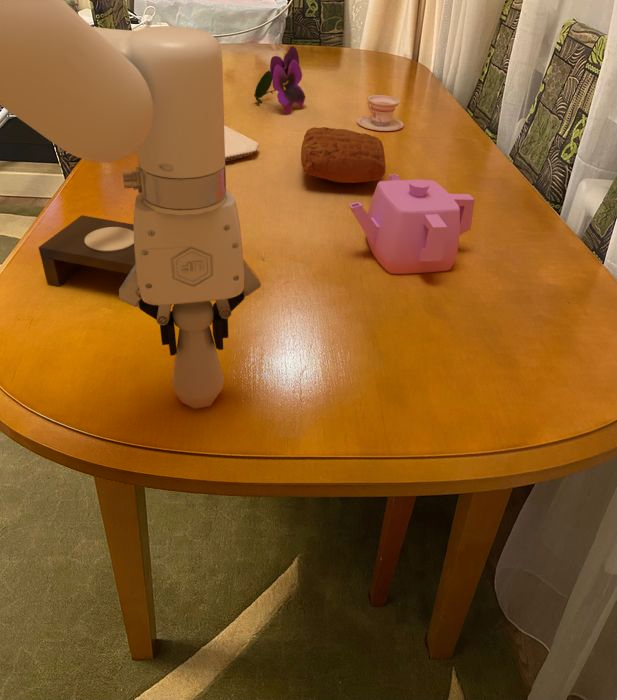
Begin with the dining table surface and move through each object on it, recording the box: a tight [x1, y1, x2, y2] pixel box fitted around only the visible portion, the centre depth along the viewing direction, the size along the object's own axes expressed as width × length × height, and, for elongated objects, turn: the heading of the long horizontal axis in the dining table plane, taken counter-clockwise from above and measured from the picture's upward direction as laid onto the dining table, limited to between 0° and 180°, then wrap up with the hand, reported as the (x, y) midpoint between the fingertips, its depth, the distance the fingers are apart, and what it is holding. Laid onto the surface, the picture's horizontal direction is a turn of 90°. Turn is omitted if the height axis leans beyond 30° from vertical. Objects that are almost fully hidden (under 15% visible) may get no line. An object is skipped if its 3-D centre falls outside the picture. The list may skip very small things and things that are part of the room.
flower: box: [253, 45, 306, 115], centre depth 160 cm, size 15×15×14 cm
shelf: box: [38, 215, 139, 290], centre depth 88 cm, size 16×11×6 cm
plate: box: [224, 124, 260, 163], centre depth 133 cm, size 21×21×2 cm
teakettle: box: [348, 173, 475, 275], centre depth 97 cm, size 17×17×12 cm
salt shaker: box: [171, 301, 225, 410], centre depth 66 cm, size 6×6×13 cm
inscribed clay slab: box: [300, 126, 386, 184], centre depth 124 cm, size 22×17×8 cm
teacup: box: [356, 94, 405, 132], centre depth 154 cm, size 12×12×6 cm
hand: (195, 343), depth 65 cm, fingers closed on salt shaker, 4 cm apart
